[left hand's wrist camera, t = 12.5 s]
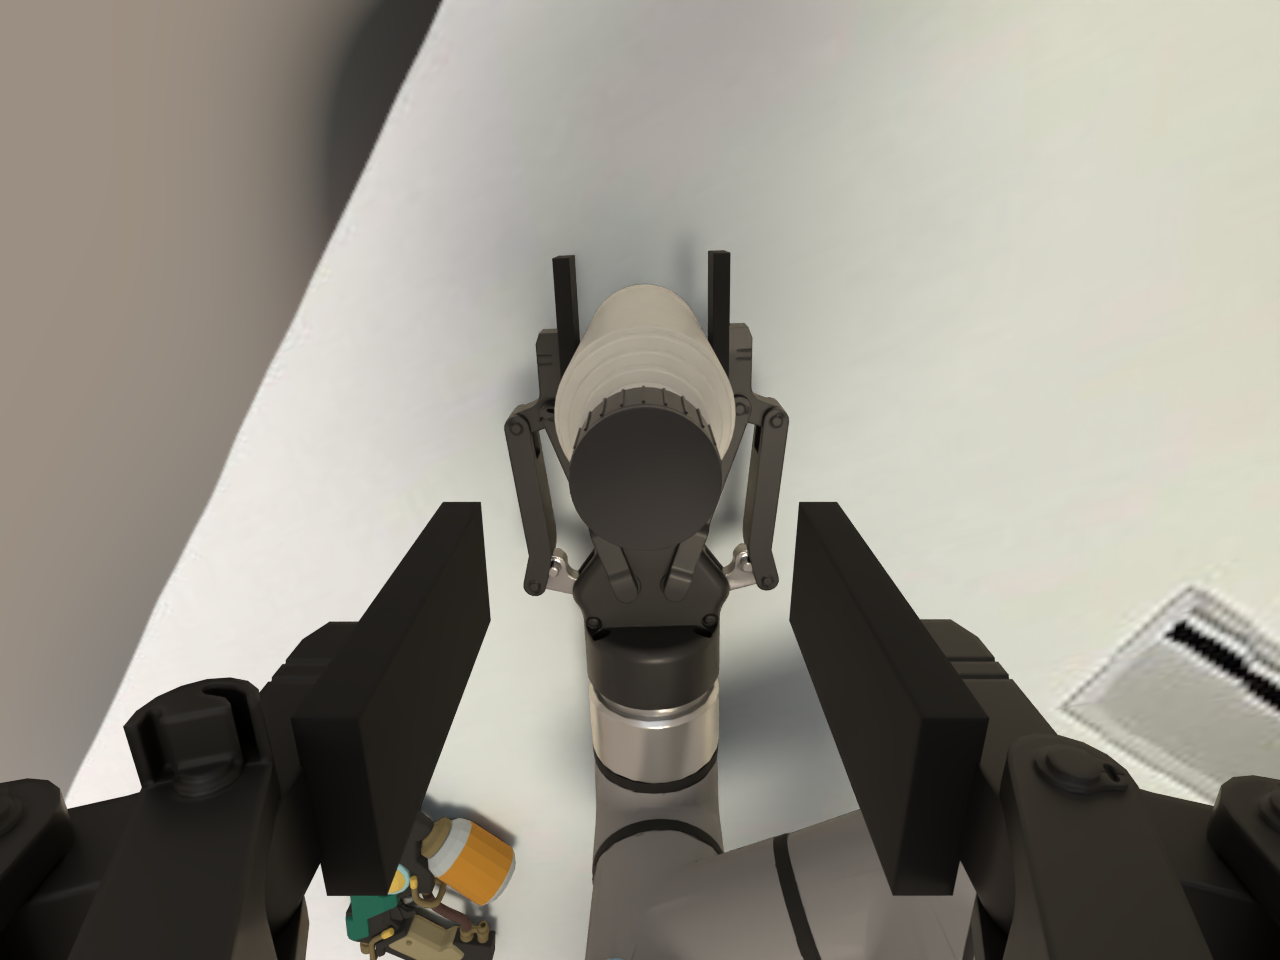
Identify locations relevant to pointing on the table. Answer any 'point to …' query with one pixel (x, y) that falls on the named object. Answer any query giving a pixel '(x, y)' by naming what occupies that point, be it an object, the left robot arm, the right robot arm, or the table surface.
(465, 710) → the table surface
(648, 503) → the cap
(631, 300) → the bottle
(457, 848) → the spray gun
